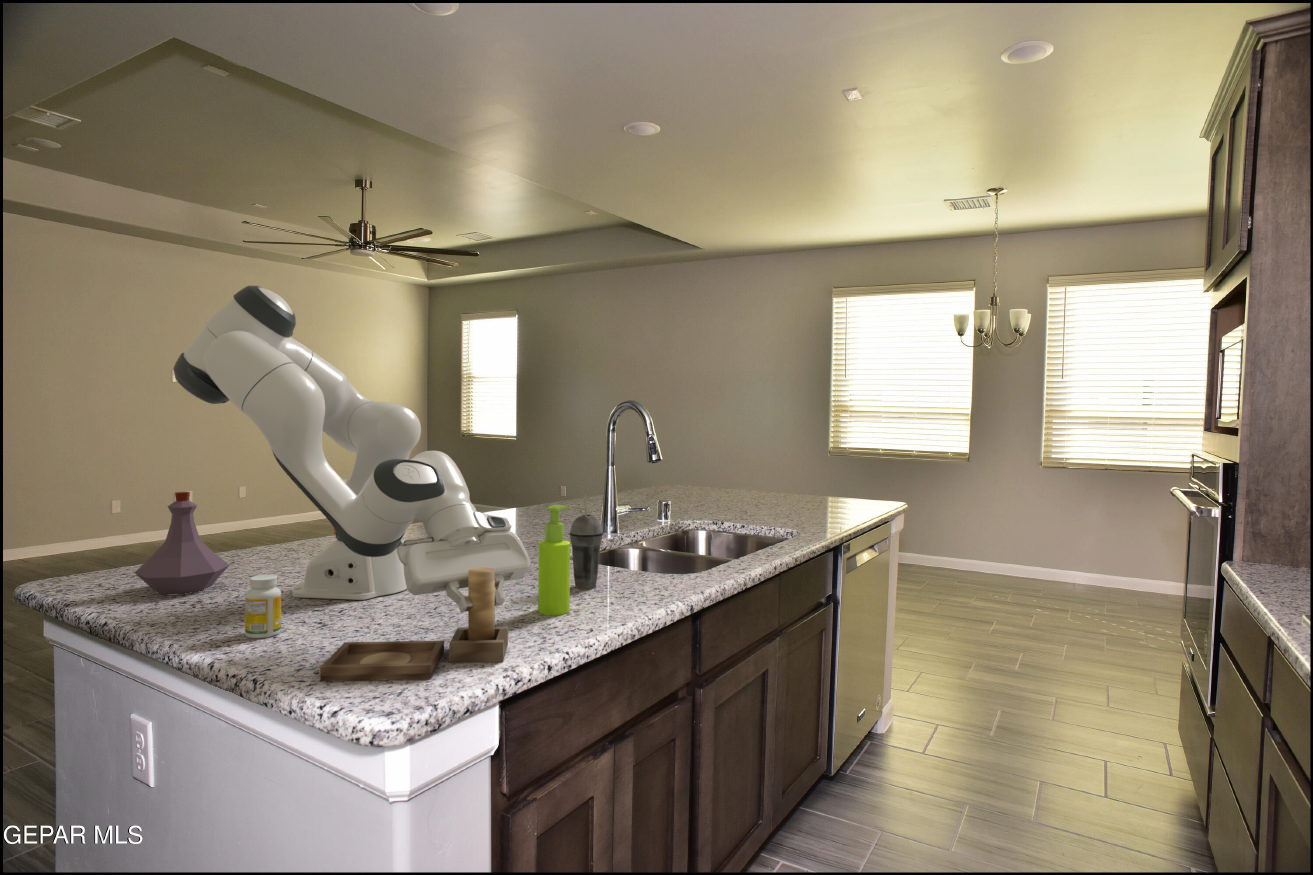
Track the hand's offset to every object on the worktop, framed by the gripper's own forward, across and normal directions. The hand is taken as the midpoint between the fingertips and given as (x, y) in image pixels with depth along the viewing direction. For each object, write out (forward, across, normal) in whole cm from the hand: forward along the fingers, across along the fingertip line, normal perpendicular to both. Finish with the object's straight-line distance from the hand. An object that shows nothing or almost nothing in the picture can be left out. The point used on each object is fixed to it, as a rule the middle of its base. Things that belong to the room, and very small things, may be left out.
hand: (483, 606), depth 116 cm
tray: (+3, -14, +8) cm, 16 cm away
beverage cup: (-13, +37, +24) cm, 46 cm away
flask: (-46, -31, +56) cm, 79 cm away
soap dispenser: (-5, +22, +16) cm, 28 cm away
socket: (+5, 0, +6) cm, 8 cm away
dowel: (+4, 0, +5) cm, 6 cm away
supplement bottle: (-16, -25, +27) cm, 40 cm away
